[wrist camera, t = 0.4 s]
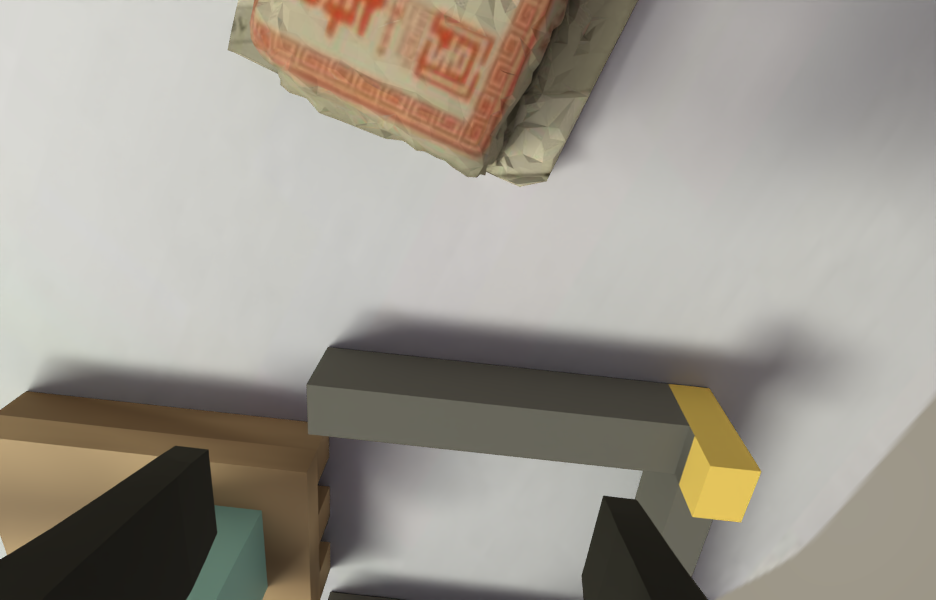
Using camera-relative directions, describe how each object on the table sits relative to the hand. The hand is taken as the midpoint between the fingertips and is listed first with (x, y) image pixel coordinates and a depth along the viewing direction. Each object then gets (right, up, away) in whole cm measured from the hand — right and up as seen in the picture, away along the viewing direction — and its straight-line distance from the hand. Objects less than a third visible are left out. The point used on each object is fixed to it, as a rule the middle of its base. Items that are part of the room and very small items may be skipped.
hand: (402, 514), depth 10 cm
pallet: (-11, -4, +14) cm, 18 cm away
